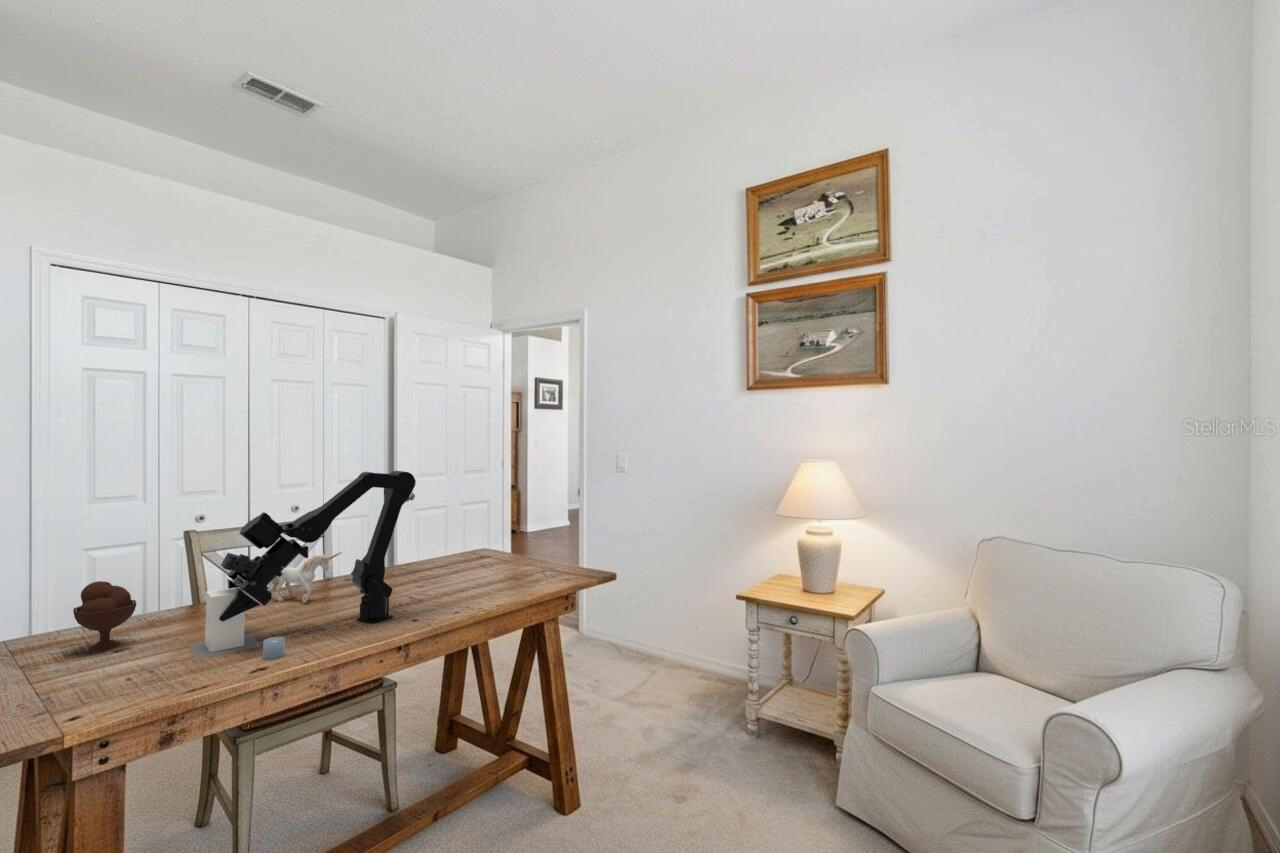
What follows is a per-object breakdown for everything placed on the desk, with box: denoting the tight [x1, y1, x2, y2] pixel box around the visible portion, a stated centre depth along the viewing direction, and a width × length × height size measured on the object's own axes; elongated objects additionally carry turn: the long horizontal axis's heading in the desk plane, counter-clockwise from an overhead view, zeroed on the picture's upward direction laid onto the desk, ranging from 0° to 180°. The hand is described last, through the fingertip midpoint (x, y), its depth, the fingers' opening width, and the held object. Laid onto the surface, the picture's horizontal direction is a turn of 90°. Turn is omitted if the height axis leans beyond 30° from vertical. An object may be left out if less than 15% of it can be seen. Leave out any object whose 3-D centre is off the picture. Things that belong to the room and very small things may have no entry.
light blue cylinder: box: [262, 636, 286, 661], centre depth 135 cm, size 4×4×4 cm
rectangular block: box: [204, 587, 246, 652], centre depth 141 cm, size 6×6×12 cm
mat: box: [187, 632, 262, 660], centre depth 141 cm, size 12×12×1 cm
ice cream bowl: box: [72, 580, 138, 653], centre depth 139 cm, size 11×11×15 cm
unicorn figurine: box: [269, 551, 343, 604], centre depth 179 cm, size 7×20×13 cm, turn 97°
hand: (217, 616), depth 140 cm, fingers closed on rectangular block, 6 cm apart
